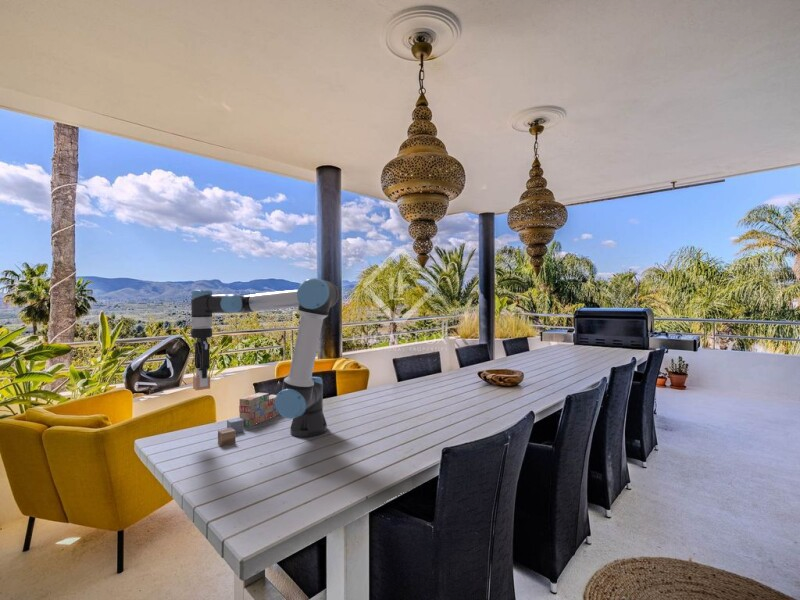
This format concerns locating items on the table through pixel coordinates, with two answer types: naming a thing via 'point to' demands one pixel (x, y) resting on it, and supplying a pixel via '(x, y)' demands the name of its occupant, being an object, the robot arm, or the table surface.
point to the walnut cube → (226, 437)
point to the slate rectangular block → (235, 424)
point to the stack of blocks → (257, 408)
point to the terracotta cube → (197, 383)
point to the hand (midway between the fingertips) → (201, 385)
